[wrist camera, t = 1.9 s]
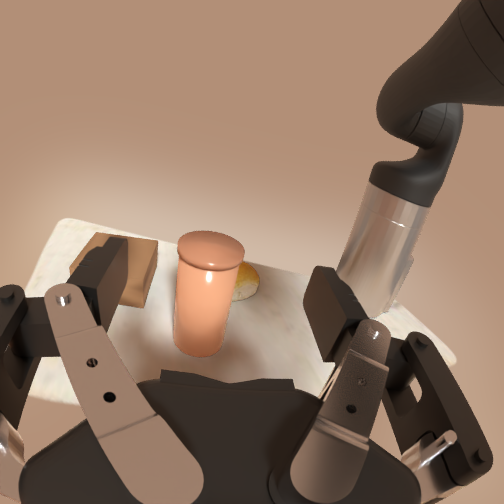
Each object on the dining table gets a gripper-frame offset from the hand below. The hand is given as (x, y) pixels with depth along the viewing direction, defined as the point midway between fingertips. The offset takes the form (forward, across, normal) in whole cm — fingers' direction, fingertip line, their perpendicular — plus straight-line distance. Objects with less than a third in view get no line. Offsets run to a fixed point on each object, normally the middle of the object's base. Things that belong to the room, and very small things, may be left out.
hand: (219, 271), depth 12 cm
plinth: (+19, +11, +16) cm, 27 cm away
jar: (+11, 0, +16) cm, 19 cm away
